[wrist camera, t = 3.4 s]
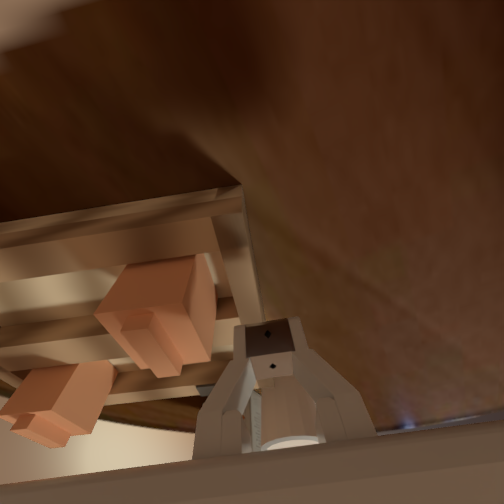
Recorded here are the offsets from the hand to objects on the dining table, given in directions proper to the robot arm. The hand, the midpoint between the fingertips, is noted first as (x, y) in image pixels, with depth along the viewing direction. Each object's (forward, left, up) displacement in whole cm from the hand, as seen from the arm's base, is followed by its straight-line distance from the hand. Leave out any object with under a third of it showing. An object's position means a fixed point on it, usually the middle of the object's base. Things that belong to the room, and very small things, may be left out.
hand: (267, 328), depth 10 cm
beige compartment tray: (+11, +4, -7) cm, 14 cm away
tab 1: (+17, +9, -5) cm, 20 cm away
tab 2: (+5, 0, -5) cm, 7 cm away
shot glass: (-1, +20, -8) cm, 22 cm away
